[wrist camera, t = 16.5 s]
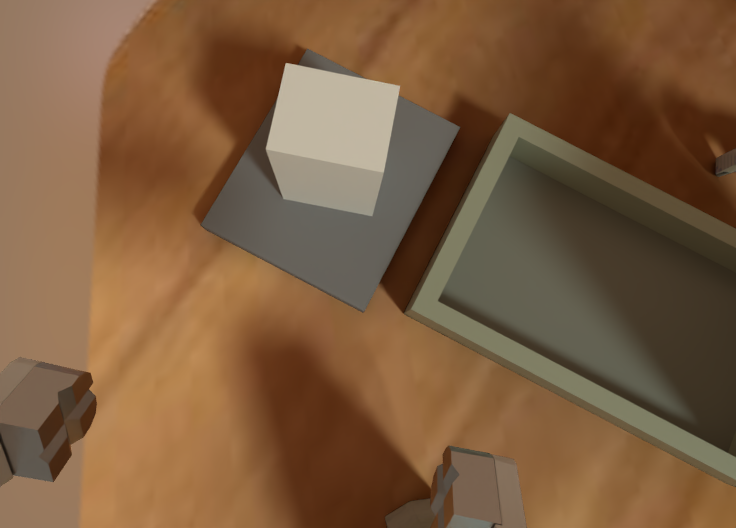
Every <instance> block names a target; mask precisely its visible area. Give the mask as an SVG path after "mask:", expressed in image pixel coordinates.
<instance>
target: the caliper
mask: <svg viewBox="0 0 736 528" xmlns="http://www.w3.org/2000/svg"><path fill="white" fill-rule="evenodd" d="M733 172H736V148H735V149H733V150H731V151H729V152H727V153H725V154H723V155H721V156H720V157H718V158H716V176H718V177H720V176H723V175H726V174H729V173H733Z"/></svg>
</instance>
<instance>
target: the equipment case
mask: <svg viewBox="0 0 736 528" xmlns="http://www.w3.org/2000/svg"><path fill="white" fill-rule="evenodd" d="M403 314H405V315H407V316H409V317H411V318H413V319H414V320H416V321H418V322H420V323H422V324H424V325H426V326H428V327H430V328H432V329H434V330H435V331H437V332H439V333H441V334H443V335H445V336H447V337H449V338H451V339H453V340H454V341H456V342H458V343H460V344H462V345H464V346H466V347H468V348H470V349H472V350H473V351H475V352H477V353H479V354H481V355H483V356H485V357H487V358H489V359H491V360H492V361H494V362H496V363H498V364H500V365H502V366H504V367H506V368H508V369H510V370H511V371H513V372H515V373H517V374H519V375H521V376H523V377H525V378H527V379H529V380H530V381H532V382H534V383H536V384H538V385H540V386H542V387H544V388H546V389H548V390H549V391H551V392H553V393H555V394H557V395H559V396H561V397H563V398H565V399H567V400H568V401H570V402H572V403H574V404H576V405H578V406H580V407H582V408H584V409H586V410H588V411H589V412H591V413H593V414H595V415H597V416H599V417H601V418H603V419H605V420H607V421H608V422H610V423H612V424H614V425H616V426H618V427H620V428H622V429H624V430H626V431H627V432H629V433H631V434H633V435H635V436H637V437H639V438H641V439H643V440H645V441H646V442H648V443H650V444H652V445H654V446H656V447H658V448H660V449H662V450H664V451H665V452H667V453H669V454H671V455H673V456H675V457H677V458H679V459H681V460H683V461H684V462H686V463H688V464H690V465H692V466H694V467H696V468H698V469H700V470H702V471H703V472H705V473H707V474H709V475H711V476H713V477H715V478H717V479H719V480H721V481H723V482H724V483H726V484H729V485H732V486H735V487H736V228H734V227H732V226H730V225H728V224H726V223H724V222H722V221H720V220H718V219H716V218H714V217H712V216H710V215H708V214H706V213H704V212H702V211H700V210H699V209H697V208H695V207H693V206H691V205H689V204H687V203H685V202H683V201H681V200H679V199H677V198H675V197H673V196H671V195H669V194H667V193H665V192H663V191H661V190H659V189H657V188H656V187H654V186H652V185H650V184H648V183H646V182H644V181H642V180H640V179H638V178H636V177H634V176H632V175H630V174H628V173H626V172H624V171H622V170H620V169H618V168H616V167H614V166H613V165H611V164H609V163H607V162H605V161H603V160H601V159H599V158H597V157H595V156H593V155H591V154H589V153H587V152H585V151H583V150H581V149H579V148H577V147H575V146H573V145H572V144H570V143H568V142H566V141H564V140H562V139H560V138H558V137H556V136H554V135H552V134H550V133H548V132H546V131H544V130H542V129H540V128H538V127H536V126H534V125H532V124H530V123H529V122H527V121H525V120H523V119H521V118H519V117H517V116H515V115H513V114H511V113H510V114H509V115H508V116H507V118H506V119H505V120H504V122H503V123H502V125H501V126H500V127H499V129H498V130H497V131H496V133H495V134H494V136H493V137H492V139H491V141H490V143H489V145H488V147H487V149H486V151H485V153H484V155H483V157H482V159H481V161H480V163H479V165H478V167H477V169H476V171H475V173H474V175H473V177H472V179H471V181H470V183H469V185H468V187H467V189H466V191H465V193H464V195H463V197H462V199H461V201H460V203H459V205H458V207H457V208H456V210H455V212H454V214H453V216H452V218H451V220H450V222H449V224H448V226H447V228H446V230H445V232H444V234H443V236H442V238H441V240H440V242H439V244H438V246H437V248H436V250H435V252H434V254H433V256H432V258H431V260H430V262H429V264H428V266H427V268H426V270H425V272H424V274H423V276H422V278H421V280H420V282H419V284H418V286H417V288H416V290H415V292H414V294H413V295H412V297H411V299H410V301H409V303H408V305H407V307H406V309H405V311H404V313H403Z"/></svg>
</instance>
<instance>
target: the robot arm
mask: <svg viewBox="0 0 736 528" xmlns="http://www.w3.org/2000/svg"><path fill="white" fill-rule="evenodd" d="M92 384H93V380H92V376H91V373H89V372H84V371H80V370H75V369H71V368H67V367H62V366H58V365H53V364H49V363H45V362H41V361H36V360H31V359H26V358H21V357H19V358H18V359H16V360H14V361H12V362H11V363H10V364H9V365H8V366H7V367H6V368H5V369H4V370H3V371H2V372H1V373H0V486H2V485H3V484H5V483H6V482H8V481H9V480H11V479H12V478H13V475H15V476H21V477H27V478H33V479H38V480H44V481H50V482H54V481H55V479H56V478H57V476H58V475H59V473H60V472H61V470H62V469H63V467H64V466H65V464H66V463H67V461H68V460H69V458H70V457H71V455H72V452H71V444H73V443H74V442H76V441H78V440H80V439H81V438H83V437H84V436H85V434H86V433H87V431H88V430H89V428H90V426H91V424H92V422H93V419H94V416H95V414H96V406H97V402H96V396H95V395H94V394H93V393H92V392H91V391H90V390H89V388H90V387H91V385H92ZM430 508H431V510H432V511H433V513H434V514H435V516H436V517H435V519H434V521H433V523H432V525H431V527H430V528H527V526H526V520H525V514H524V508H523V502H522V496H521V490H520V483H519V477H518V471H517V465H516V463H515V461H514V459H512V458H507V457H502V456H497V455H491V454H490V453H485V452H480V451H474V450H469V449H464V448H459V447H453V446H448V447H446V449H445V451H444V453H443V464H441V465H439V466H437V468H436V471H435V473H434V476H433V481H432V485H431V496H430Z"/></svg>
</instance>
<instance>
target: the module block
mask: <svg viewBox="0 0 736 528" xmlns="http://www.w3.org/2000/svg"><path fill="white" fill-rule="evenodd" d="M399 89H400V86H397V85H392V84H388V83H383V82H378V81H373V80H368V79H363V78H358V77H353V76H348V75H343V74H338V73H333V72H329V71H324V70H319V69H314V68H309V67H304V66H299V65H294V64H289V63H286V65H285V69H284V73H283V78H282V82H281V86H280V90H279V95H278V99H277V103H276V108H275V112H274V116H273V120H272V125H271V129H270V133H269V137H268V142H267V146H266V152H267V154H268V157H269V160H270V163H271V166H272V169H273V171H274V174H275V177H276V180H277V183H278V185H279V188H280V191H281V194H282V197H283V199H286V200H292V201H297V202H302V203H307V204H312V205H317V206H322V207H327V208H332V209H338V210H343V211H348V212H353V213H358V214H363V215H368V216H373V212H374V208H375V204H376V200H377V197H378V193H379V189H380V185H381V181H382V178H383V174H384V169H385V164H386V158H387V153H388V148H389V142H390V137H391V132H392V126H393V121H394V116H395V111H396V105H397V100H398V95H399Z"/></svg>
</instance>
